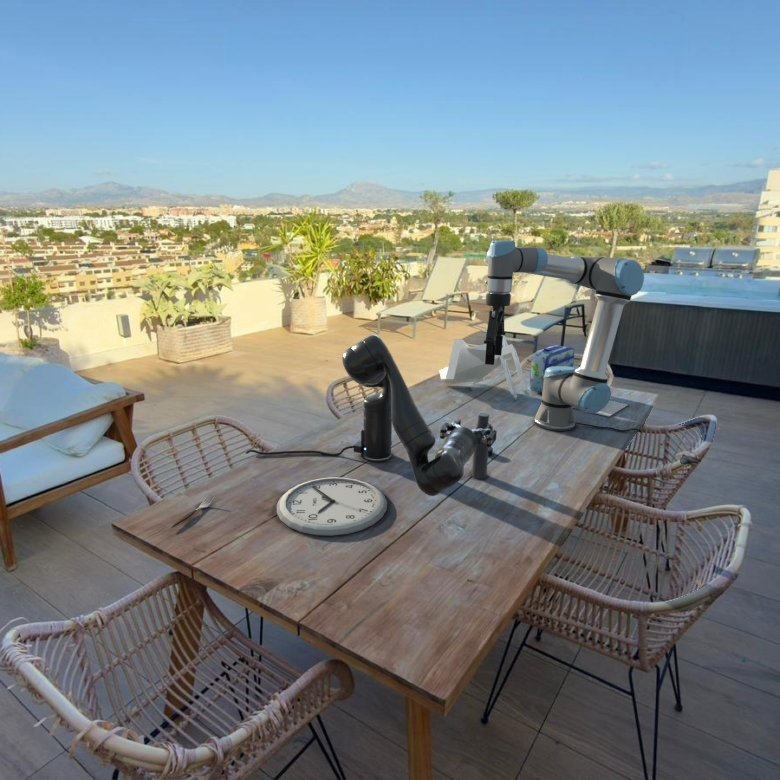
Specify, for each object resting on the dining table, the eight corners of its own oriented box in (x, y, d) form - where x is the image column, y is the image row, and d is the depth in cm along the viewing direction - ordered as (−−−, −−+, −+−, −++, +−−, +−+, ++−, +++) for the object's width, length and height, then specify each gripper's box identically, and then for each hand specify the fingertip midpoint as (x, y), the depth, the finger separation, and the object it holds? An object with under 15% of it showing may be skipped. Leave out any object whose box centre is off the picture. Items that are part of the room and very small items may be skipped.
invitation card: (608, 416, 214) (573, 407, 224) (608, 416, 214) (573, 408, 224) (628, 404, 229) (594, 396, 238) (628, 405, 229) (594, 397, 238)
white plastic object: (461, 429, 252) (437, 405, 227) (444, 352, 274) (420, 323, 250) (535, 404, 240) (518, 377, 215) (510, 326, 262) (492, 293, 237)
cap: (483, 449, 180) (484, 444, 180) (494, 453, 178) (495, 447, 177) (477, 453, 177) (477, 448, 176) (488, 457, 174) (488, 451, 174)
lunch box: (546, 398, 236) (551, 353, 229) (525, 393, 243) (529, 349, 237) (573, 387, 253) (579, 344, 247) (553, 382, 260) (558, 341, 254)
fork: (167, 528, 130) (166, 521, 130) (209, 498, 145) (208, 492, 144) (175, 530, 130) (174, 523, 129) (216, 500, 144) (216, 494, 143)
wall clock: (392, 527, 129) (268, 531, 127) (391, 533, 130) (269, 537, 127) (383, 473, 158) (282, 475, 155) (383, 478, 158) (282, 480, 156)
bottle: (483, 472, 164) (488, 411, 158) (488, 478, 160) (493, 417, 154) (469, 473, 163) (474, 412, 157) (474, 479, 159) (478, 417, 153)
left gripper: (488, 437, 127) (501, 416, 141) (432, 428, 132) (450, 408, 146) (485, 465, 129) (498, 441, 143) (431, 455, 134) (448, 433, 148)
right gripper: (493, 287, 173) (489, 350, 180) (478, 296, 151) (473, 367, 158) (516, 289, 171) (511, 352, 177) (504, 298, 149) (498, 370, 155)
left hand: (474, 425), depth 145 cm, fingers open, 8 cm apart
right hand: (493, 359), depth 167 cm, fingers open, 13 cm apart
